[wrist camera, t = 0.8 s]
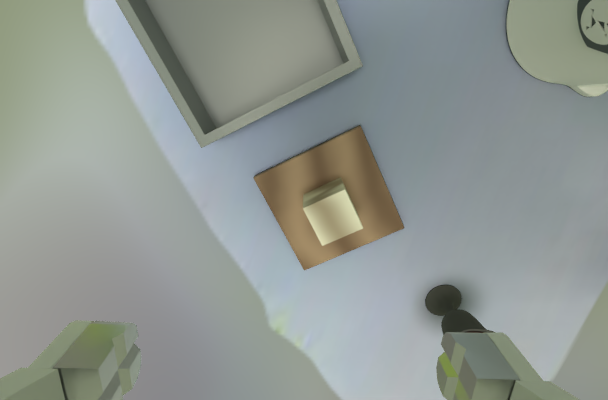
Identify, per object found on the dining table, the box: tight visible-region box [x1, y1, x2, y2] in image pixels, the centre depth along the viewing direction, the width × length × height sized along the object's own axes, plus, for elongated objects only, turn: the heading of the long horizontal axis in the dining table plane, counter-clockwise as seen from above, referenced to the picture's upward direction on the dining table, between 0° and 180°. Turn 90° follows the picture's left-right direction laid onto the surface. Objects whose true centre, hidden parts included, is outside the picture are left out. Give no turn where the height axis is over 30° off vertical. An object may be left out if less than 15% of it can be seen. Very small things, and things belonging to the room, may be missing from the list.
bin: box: [116, 0, 363, 148], centre depth 35 cm, size 18×18×6 cm
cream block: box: [303, 177, 363, 246], centre depth 41 cm, size 5×5×5 cm
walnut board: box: [254, 125, 404, 270], centre depth 44 cm, size 14×14×1 cm
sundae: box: [425, 285, 496, 335], centre depth 42 cm, size 7×7×15 cm
